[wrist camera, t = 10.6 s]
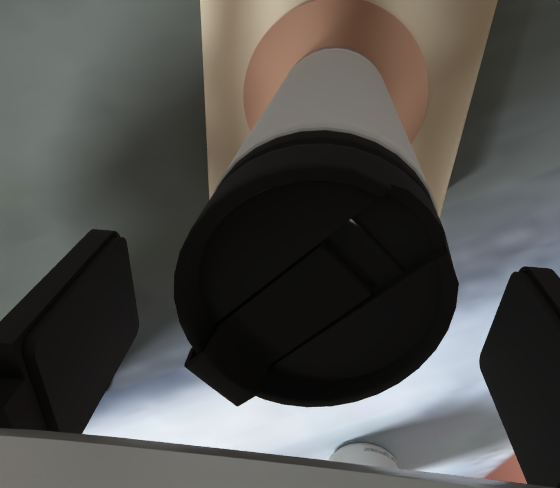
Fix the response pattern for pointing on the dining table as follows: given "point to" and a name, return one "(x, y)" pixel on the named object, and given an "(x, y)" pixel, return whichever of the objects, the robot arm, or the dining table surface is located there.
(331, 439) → the dining table surface
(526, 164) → the dining table surface
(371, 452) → the supplement can
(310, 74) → the travel mug
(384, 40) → the cream panel copper ring
